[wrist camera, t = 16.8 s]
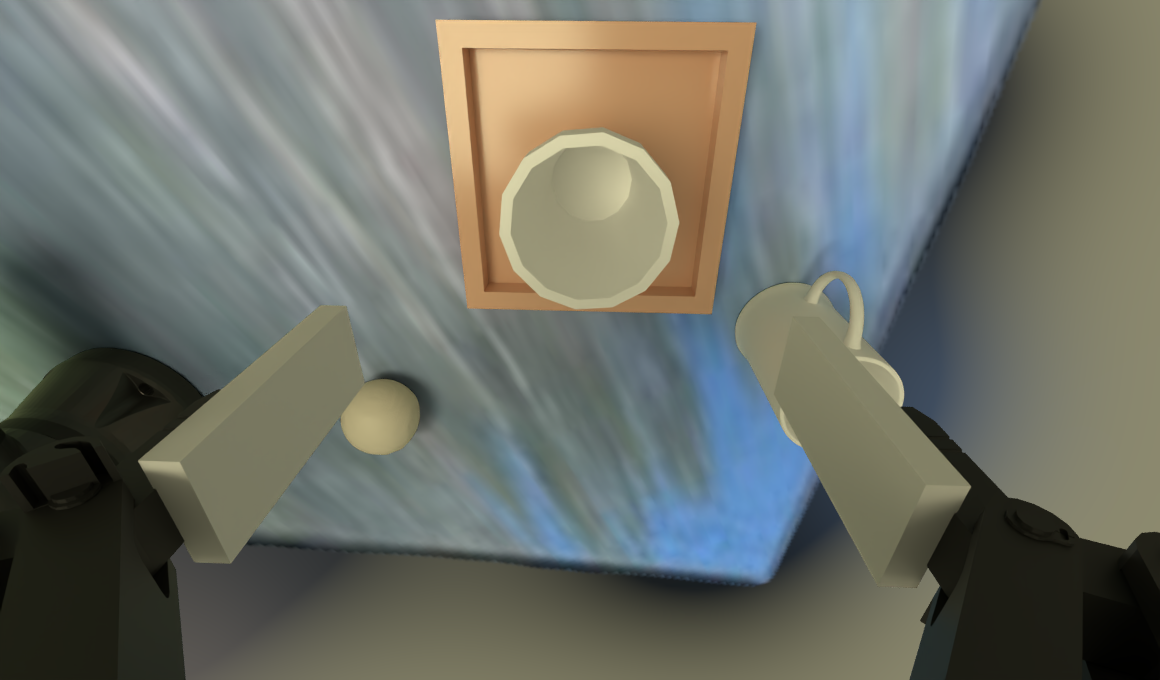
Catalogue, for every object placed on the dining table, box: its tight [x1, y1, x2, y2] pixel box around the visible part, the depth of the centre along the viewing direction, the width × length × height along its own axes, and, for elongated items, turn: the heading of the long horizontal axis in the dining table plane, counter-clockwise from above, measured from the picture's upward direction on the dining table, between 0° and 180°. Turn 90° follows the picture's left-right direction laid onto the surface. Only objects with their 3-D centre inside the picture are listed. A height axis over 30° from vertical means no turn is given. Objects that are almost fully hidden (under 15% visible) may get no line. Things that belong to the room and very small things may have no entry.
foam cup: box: [499, 127, 679, 309], centre depth 32 cm, size 10×9×13 cm
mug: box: [735, 271, 904, 447], centre depth 38 cm, size 12×8×12 cm
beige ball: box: [341, 379, 420, 455], centre depth 46 cm, size 7×7×7 cm
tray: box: [436, 20, 756, 314], centre depth 37 cm, size 20×20×3 cm
